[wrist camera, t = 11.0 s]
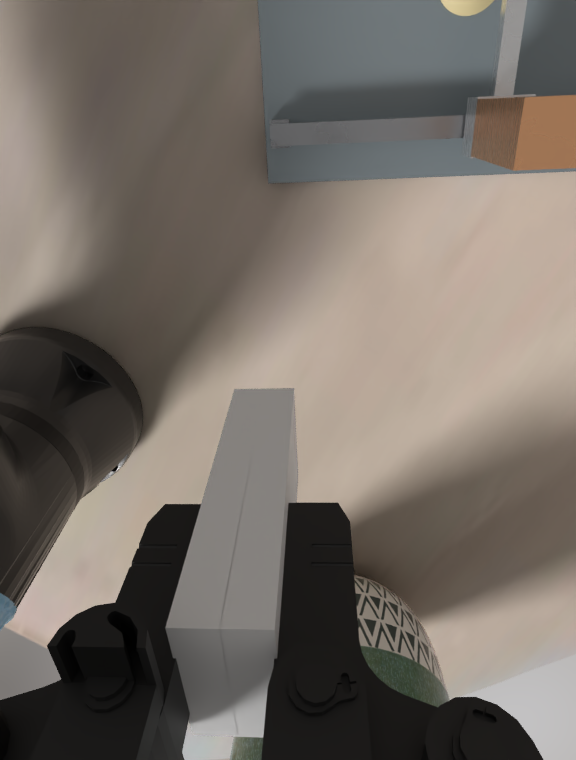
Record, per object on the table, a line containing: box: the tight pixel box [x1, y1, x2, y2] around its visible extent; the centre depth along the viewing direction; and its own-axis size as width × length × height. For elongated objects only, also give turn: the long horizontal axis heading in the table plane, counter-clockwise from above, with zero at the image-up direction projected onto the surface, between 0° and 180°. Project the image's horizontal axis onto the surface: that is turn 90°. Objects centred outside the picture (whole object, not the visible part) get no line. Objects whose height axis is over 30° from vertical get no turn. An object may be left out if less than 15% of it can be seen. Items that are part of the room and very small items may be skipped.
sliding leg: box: [462, 0, 576, 171], centre depth 25 cm, size 3×10×11 cm, turn 3°
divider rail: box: [269, 115, 466, 149], centre depth 28 cm, size 29×10×5 cm, turn 93°
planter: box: [230, 575, 449, 760], centre depth 46 cm, size 20×20×21 cm
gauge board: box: [258, 0, 576, 183], centre depth 30 cm, size 30×14×1 cm, turn 93°
